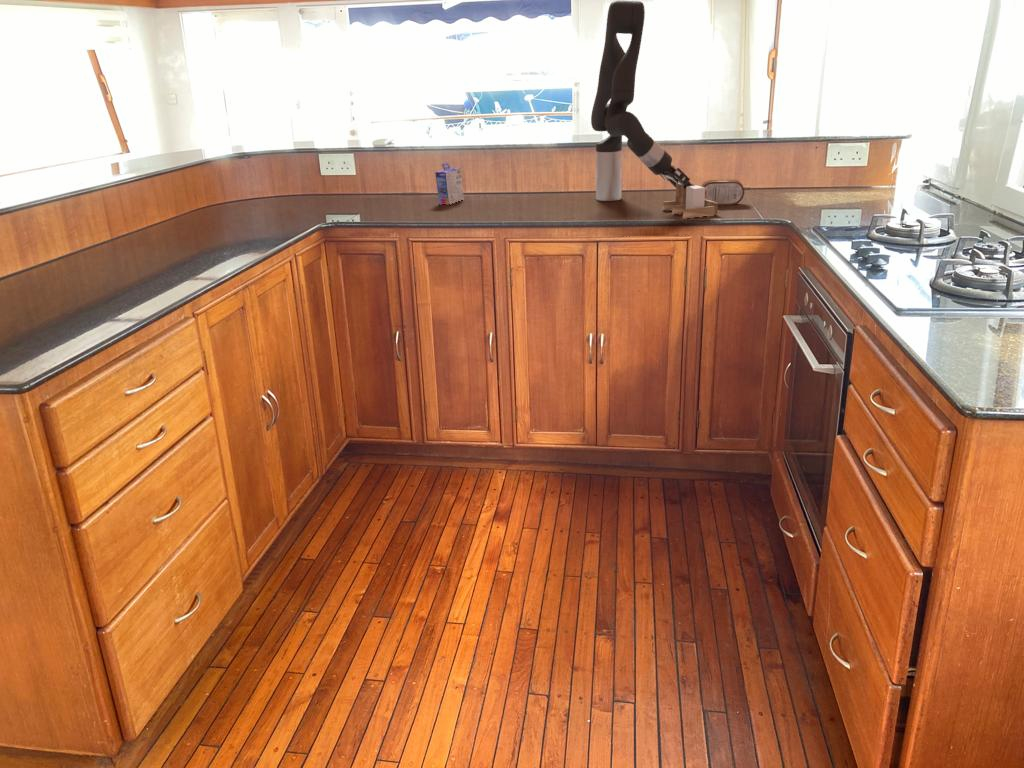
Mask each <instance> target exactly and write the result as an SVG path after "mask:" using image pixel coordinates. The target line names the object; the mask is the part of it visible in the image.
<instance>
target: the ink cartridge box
mask: <svg viewBox="0 0 1024 768" xmlns="http://www.w3.org/2000/svg"><path fill="white" fill-rule="evenodd" d="M441 166H442V168H443V169H442V170H439V171H438V170H437V171H435V180H436V181H435V182H436V190H437V198H438V199H437V200H438V205H442V204H446V205H445V206H450V205H453V204H456V203H455V202H457V203H459V202H458V201H460V202H462V201H461V200H463V201H464V200H465V198H464V197H465V196H464V189H463V177H462V167H460V168H458V167H450V165H449V163H448V162H445V163H441ZM452 203H453V204H452ZM449 204H450V205H449Z"/></svg>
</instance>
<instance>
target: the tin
mask: <svg viewBox="0 0 1024 768" xmlns="http://www.w3.org/2000/svg"><path fill="white" fill-rule="evenodd" d="M701 187H705V199H707V200H710V201H713V202H717V203H718V206H735V205H737V204H739V203H740V202H741V201H742V200H743V198H744V196H745V188H744V185H743V184H742V183H741V182H740V181H739V180H737V179H709V180H707V181H705V182H703V183H702V184H701Z"/></svg>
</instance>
